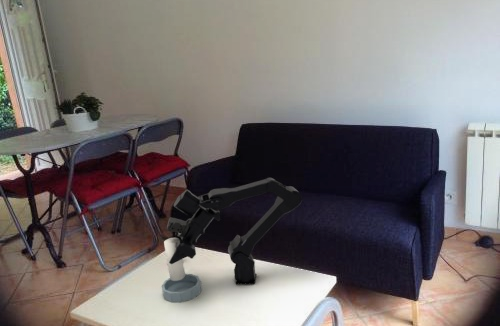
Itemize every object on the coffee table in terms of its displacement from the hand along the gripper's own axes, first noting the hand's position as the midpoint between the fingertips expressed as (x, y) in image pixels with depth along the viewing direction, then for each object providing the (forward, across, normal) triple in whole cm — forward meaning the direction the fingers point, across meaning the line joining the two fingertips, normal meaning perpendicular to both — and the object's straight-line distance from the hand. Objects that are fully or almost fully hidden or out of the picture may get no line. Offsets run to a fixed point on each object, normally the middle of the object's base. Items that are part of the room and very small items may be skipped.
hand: (170, 259), depth 137 cm
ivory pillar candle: (+4, 0, +6) cm, 7 cm away
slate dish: (+7, 0, +10) cm, 12 cm away
